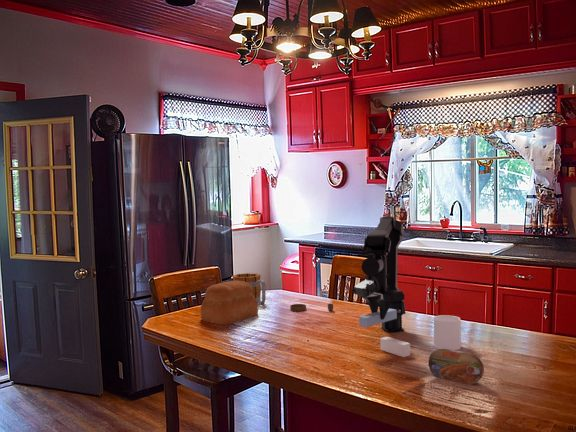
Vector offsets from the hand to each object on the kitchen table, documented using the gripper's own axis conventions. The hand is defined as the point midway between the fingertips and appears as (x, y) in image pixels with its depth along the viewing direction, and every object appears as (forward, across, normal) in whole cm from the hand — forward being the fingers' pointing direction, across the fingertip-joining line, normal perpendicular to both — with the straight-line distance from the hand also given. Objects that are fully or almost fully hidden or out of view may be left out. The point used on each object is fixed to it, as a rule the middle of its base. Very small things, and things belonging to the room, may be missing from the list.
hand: (378, 318), depth 170 cm
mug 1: (+11, -88, 0) cm, 88 cm away
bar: (+1, 0, 0) cm, 1 cm away
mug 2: (+11, +12, +21) cm, 27 cm away
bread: (+11, -69, -20) cm, 73 cm away
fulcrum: (+11, +6, +1) cm, 13 cm away
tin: (+12, +32, -1) cm, 34 cm away
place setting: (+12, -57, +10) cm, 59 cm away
